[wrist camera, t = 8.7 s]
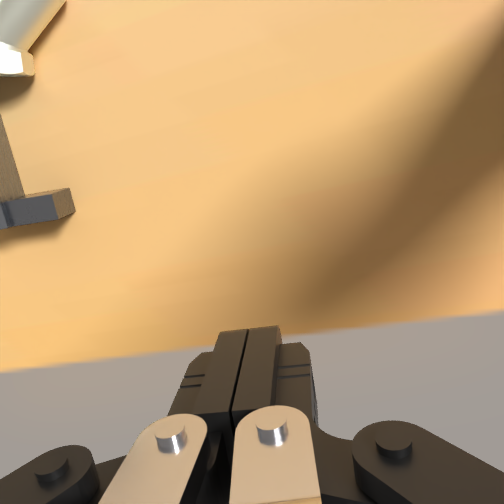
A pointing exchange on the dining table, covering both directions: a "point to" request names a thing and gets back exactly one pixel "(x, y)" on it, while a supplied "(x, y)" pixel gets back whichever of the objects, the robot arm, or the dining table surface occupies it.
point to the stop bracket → (26, 206)
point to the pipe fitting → (22, 33)
